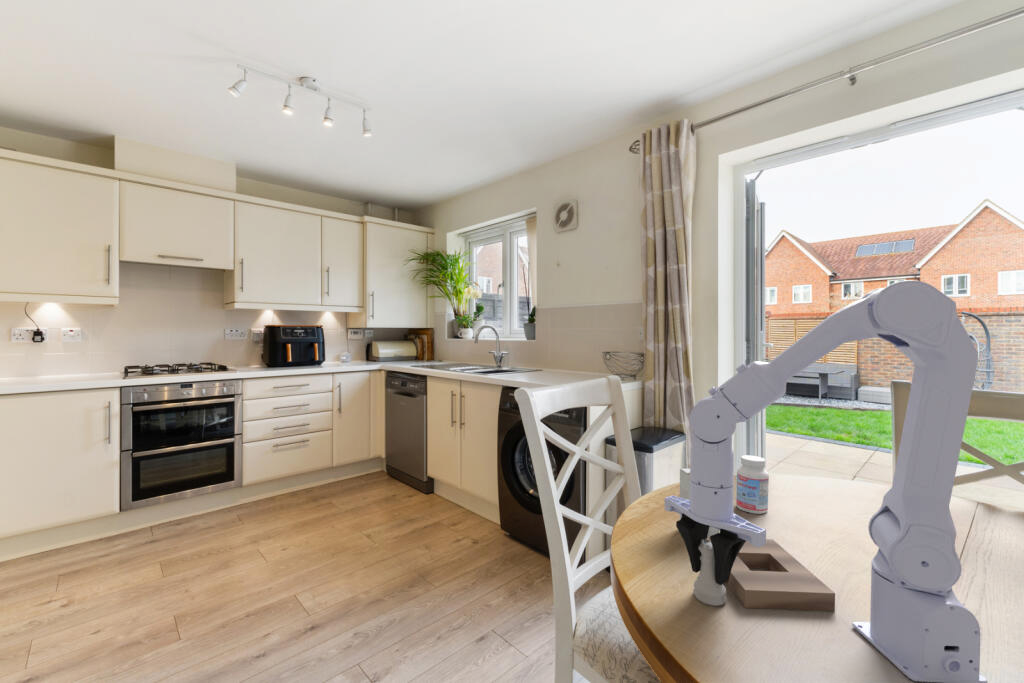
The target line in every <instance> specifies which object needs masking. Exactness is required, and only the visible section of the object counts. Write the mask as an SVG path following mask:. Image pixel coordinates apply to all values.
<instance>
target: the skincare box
mask: <svg viewBox="0 0 1024 683" xmlns="http://www.w3.org/2000/svg"><path fill="white" fill-rule="evenodd" d="M679 498H683V499H688V500H690V468H680V469H679ZM681 518H682V515H681V514H679V520H681ZM717 533H720V530H719V529H716V528H714V527H711V526H710V527H709V531H708V536H707V537H710V536H712V535H714V534H717Z"/></svg>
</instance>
